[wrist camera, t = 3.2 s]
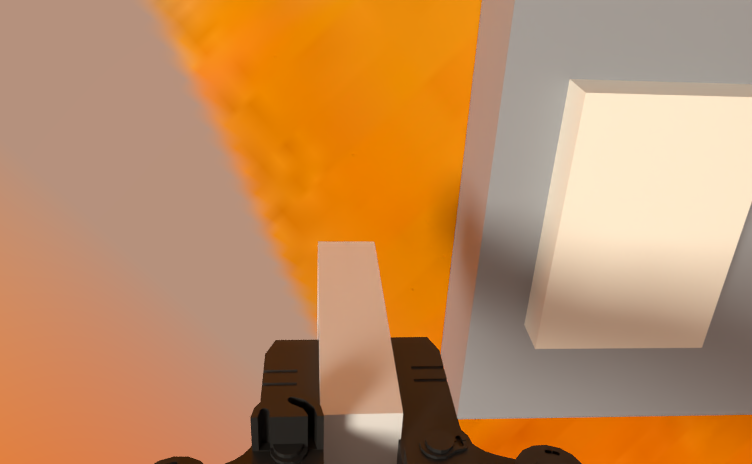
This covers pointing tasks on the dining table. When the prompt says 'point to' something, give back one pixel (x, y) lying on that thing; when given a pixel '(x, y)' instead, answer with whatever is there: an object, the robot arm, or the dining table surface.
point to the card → (641, 214)
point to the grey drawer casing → (529, 199)
